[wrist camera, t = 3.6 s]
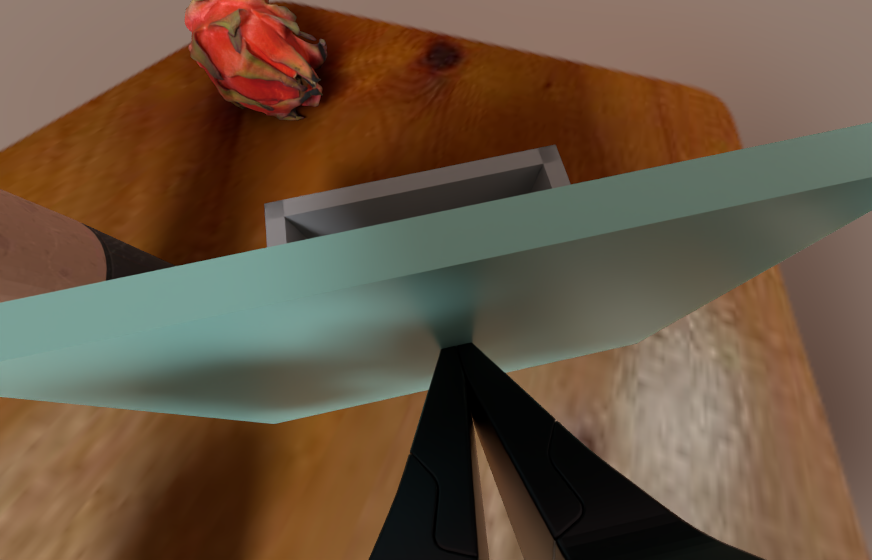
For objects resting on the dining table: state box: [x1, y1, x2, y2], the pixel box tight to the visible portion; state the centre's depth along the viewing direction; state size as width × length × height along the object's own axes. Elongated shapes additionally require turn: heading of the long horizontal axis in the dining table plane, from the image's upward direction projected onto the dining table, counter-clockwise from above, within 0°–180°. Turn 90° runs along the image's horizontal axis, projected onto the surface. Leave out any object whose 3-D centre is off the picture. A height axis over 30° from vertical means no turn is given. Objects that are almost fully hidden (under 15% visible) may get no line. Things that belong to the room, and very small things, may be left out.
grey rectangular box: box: [264, 145, 571, 247], centre depth 20 cm, size 10×16×7 cm, turn 102°
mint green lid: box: [0, 122, 872, 424], centre depth 10 cm, size 10×16×1 cm
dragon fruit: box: [185, 0, 327, 120], centre depth 25 cm, size 8×8×12 cm
